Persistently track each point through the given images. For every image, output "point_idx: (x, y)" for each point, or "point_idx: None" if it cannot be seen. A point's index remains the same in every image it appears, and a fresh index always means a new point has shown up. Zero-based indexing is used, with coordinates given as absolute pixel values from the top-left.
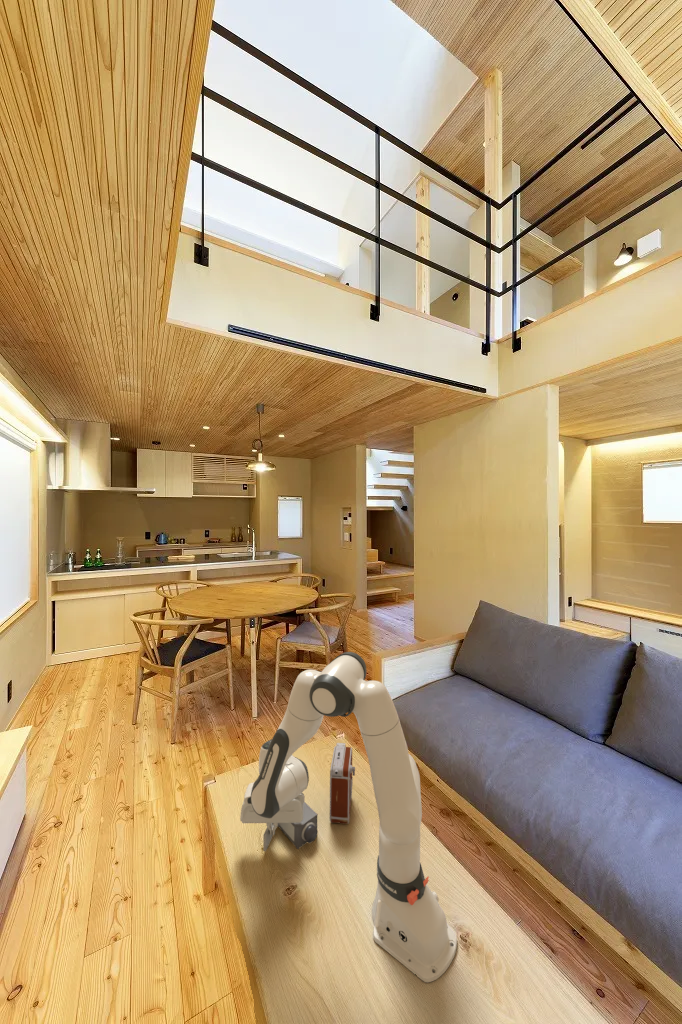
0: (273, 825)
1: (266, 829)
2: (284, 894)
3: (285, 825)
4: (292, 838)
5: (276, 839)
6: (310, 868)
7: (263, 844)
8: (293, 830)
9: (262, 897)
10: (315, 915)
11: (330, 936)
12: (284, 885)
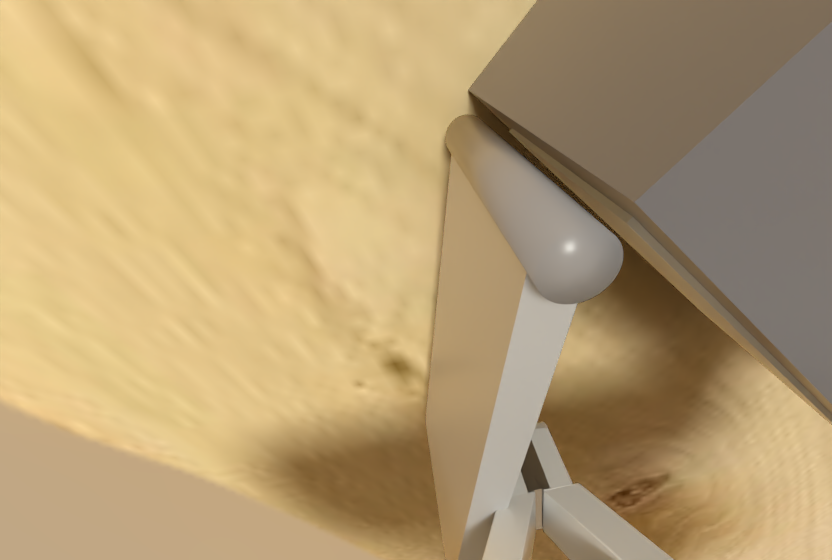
0: (552, 504)
1: (463, 552)
2: None
3: (663, 272)
4: (699, 309)
5: None
6: (769, 400)
7: (434, 476)
8: (796, 393)
9: None
10: (735, 525)
11: (773, 547)
12: (601, 489)
